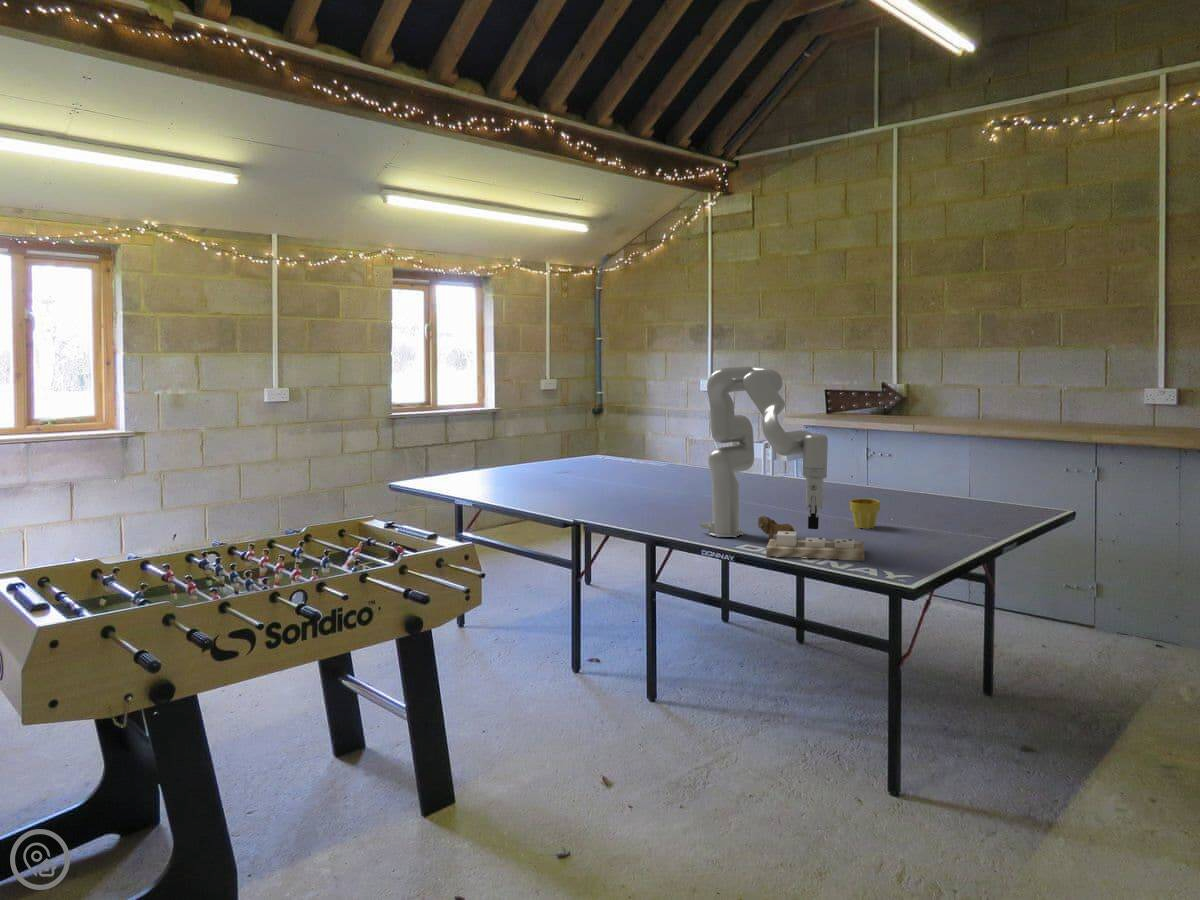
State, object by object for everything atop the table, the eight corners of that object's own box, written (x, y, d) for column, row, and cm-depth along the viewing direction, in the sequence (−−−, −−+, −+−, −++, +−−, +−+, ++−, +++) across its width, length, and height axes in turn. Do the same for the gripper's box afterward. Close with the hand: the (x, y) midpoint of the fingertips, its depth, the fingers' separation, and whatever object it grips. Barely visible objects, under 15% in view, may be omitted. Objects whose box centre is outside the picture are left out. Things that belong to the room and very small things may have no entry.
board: (766, 557, 277) (766, 547, 276) (769, 547, 289) (769, 538, 289) (864, 560, 269) (864, 551, 268) (863, 550, 281) (863, 541, 281)
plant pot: (857, 531, 310) (857, 504, 309) (845, 525, 320) (845, 499, 319) (884, 529, 311) (884, 502, 310) (871, 523, 321) (872, 497, 320)
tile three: (834, 555, 274) (834, 542, 274) (834, 550, 280) (834, 538, 279) (854, 556, 273) (854, 543, 272) (854, 551, 278) (854, 538, 278)
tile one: (776, 547, 279) (776, 534, 278) (778, 543, 285) (778, 530, 284) (795, 547, 277) (795, 535, 277) (796, 543, 283) (796, 531, 283)
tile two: (805, 553, 277) (805, 541, 276) (806, 549, 282) (806, 536, 282) (824, 554, 275) (824, 541, 275) (825, 550, 281) (825, 537, 280)
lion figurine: (756, 543, 297) (756, 517, 295) (759, 539, 301) (759, 514, 300) (799, 545, 291) (799, 519, 290) (802, 542, 296) (802, 516, 295)
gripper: (826, 477, 268) (824, 534, 270) (827, 468, 282) (825, 523, 285) (801, 476, 270) (799, 533, 272) (803, 468, 284) (802, 522, 287)
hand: (813, 528), depth 279 cm, fingers closed
